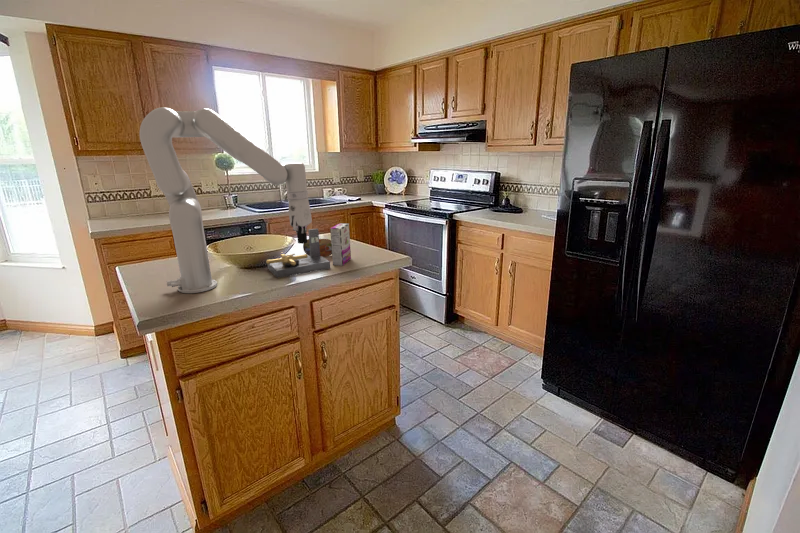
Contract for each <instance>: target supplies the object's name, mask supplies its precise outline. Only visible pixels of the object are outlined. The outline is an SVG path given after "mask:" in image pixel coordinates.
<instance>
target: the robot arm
mask: <svg viewBox="0 0 800 533" xmlns="http://www.w3.org/2000/svg"><path fill="white" fill-rule="evenodd" d="M173 138H206V139H207V140H209V141H210V142H212V143H213V144H215V146H217V147H218V148H220V149H222V150H223V151H224V152H225V153H227V154H228V155H229V156H230V157H231V158H233V159H235V160H237V161H238V162H241V163H242V164H244V165H246V166H247V167H249V168H250V169H251V170H253V171H254V172H256V173H257V175H260V176H261V177H262V178H263V180H265V181H266V182H267V183H269V184H271V185H275V186H278V185H279V186H280V185H282V184H284V183H285V187H286V193H287V194H286V195H287V196H286V197H287V201H288V218H289V225H290V226H291V227H292V230H293V231H294V232H295V233H296V235H297V244H305V243H307V239H308V236H307V235H308V234H307V232H308V229H307V227H308V226H309V225H310V224H312V222H313V220H312V212H311V205H310V201H309V195H308V184H307V176H306V166H305V164H304V163H303V162H296V161H295V162H286V163H283V162H281V163H280V162H279V161H278V160H277V159H276V158H274V157H273V156H272V155H270V153H268V152H267V151H265V150H264V149H262V148H261V147H260V146H259V145H257V144H256V143H255V142H254V141H252V140H251V139H250V137H248V136H246V135H245V134H244V133H242V132H241V131H239V130H238V129H237V128H236V127H235V126H233V125H232V124H231V123H230V122H228V121H227V120H226V119H225V118H224V117H222V116H220V115H219V114H218V113H217V112H215V111H214V110H213V109H210V108H204V107H203V108H200V109H197V110H194V111H192V110H191V111H190V110H189V111H187V110H186V111H183V110H182V111H180V110H174V109H172V108H170V107H165V106H163V107H161V106H160V107H157V108H155V109H152V110H151V111H150V112H149V113H147V115H145V116H144V117H143V119H142V121H141V123H140V126H139V141H140V143H141V148H142V149H143V152H144V155H145V157H146V160H147V162H148V165H149V168H150V170H151V172H152V174H153V177H154V180H155V183H156V186H157V188H158V189H159V191H161V193H163V195H164V197H165V199H166V201H167V204H168V206H169V209H168V219H169V224H170V228H171V231H172V236H173V243H174V247H175V252H176V257H177V258H176V259H177V264H178V268H179V269H178V270H179V274H180V275H179V278H176V279H174V280H173V279H172V280H166V285H167V287H171V288H175V287H177V291H178V292H179V293H182V294H196V293H203V292H207V291H210V290H213V289H214V288H216V287H217V286H218V281H217V280H215V279H213V277H212V271H211V265H210V258H209V254H208V246H207V241H206V236H205V235H206V234H205V228H204V222H203V212H202V206H201V204H200V201H199V198H198V196H197V193H196V192H195V189H194V185H193V184H192V181H191V179H190V177H189V175H188V173H187V172H186V171H185V170H184V169H183V168H182V165H181V163H180V160H179V158H178V155H177V152H176V149H175V148H174V145H173Z"/></svg>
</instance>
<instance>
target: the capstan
mask: <svg viewBox="0 0 800 533" xmlns="http://www.w3.org/2000/svg"><path fill="white" fill-rule="evenodd" d="M280 254H281V253H280ZM280 254H279V256H281V257H280V258H273V259H266V265H267V264H271V263H277V262H282V265H284V266H294V265H298V264H299V260H296V259H303V258H307V257H308V256H309V255H307V254H306V253H304V254H299V255H296V254H295V253H290V254H285V253H284V254H281V255H280Z"/></svg>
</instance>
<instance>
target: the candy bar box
mask: <svg viewBox="0 0 800 533" xmlns="http://www.w3.org/2000/svg"><path fill="white" fill-rule="evenodd" d="M329 230H330V240H331V246H332V254H331V257H332V258H331V259H332V265H333V266H339V267H341V266H345V265H346V264H347V263H348V262H349V261H350V260H351V259H352V254H351V253H352V251H351V237H350V223H338V224H335V225H334V226H332V227H330V228H329Z"/></svg>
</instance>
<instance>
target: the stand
mask: <svg viewBox="0 0 800 533" xmlns="http://www.w3.org/2000/svg"><path fill="white" fill-rule="evenodd" d="M307 232H308V239H309V245H310V256H309V255H308V257H307V258H303V259H296V260H299V264H298V265H294V266H284V265H282V262H277V263H271V264H267V263H266V265H267V270H268V269H269V270H268V271H269V272H270V273H271V274H273V275H274V276H275V277H276V278H277V279H279V278H278V277H280V278H285V277H290V275H291V276H297V275H302V274H306V273H312V272H318V271H323V270H328V269H331V261H329V260H328V259H327V258H326V257H321V256H320V247H319V239H320V235H319V228H312V229H307ZM296 274H297V275H296ZM284 276H285V277H284Z"/></svg>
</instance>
